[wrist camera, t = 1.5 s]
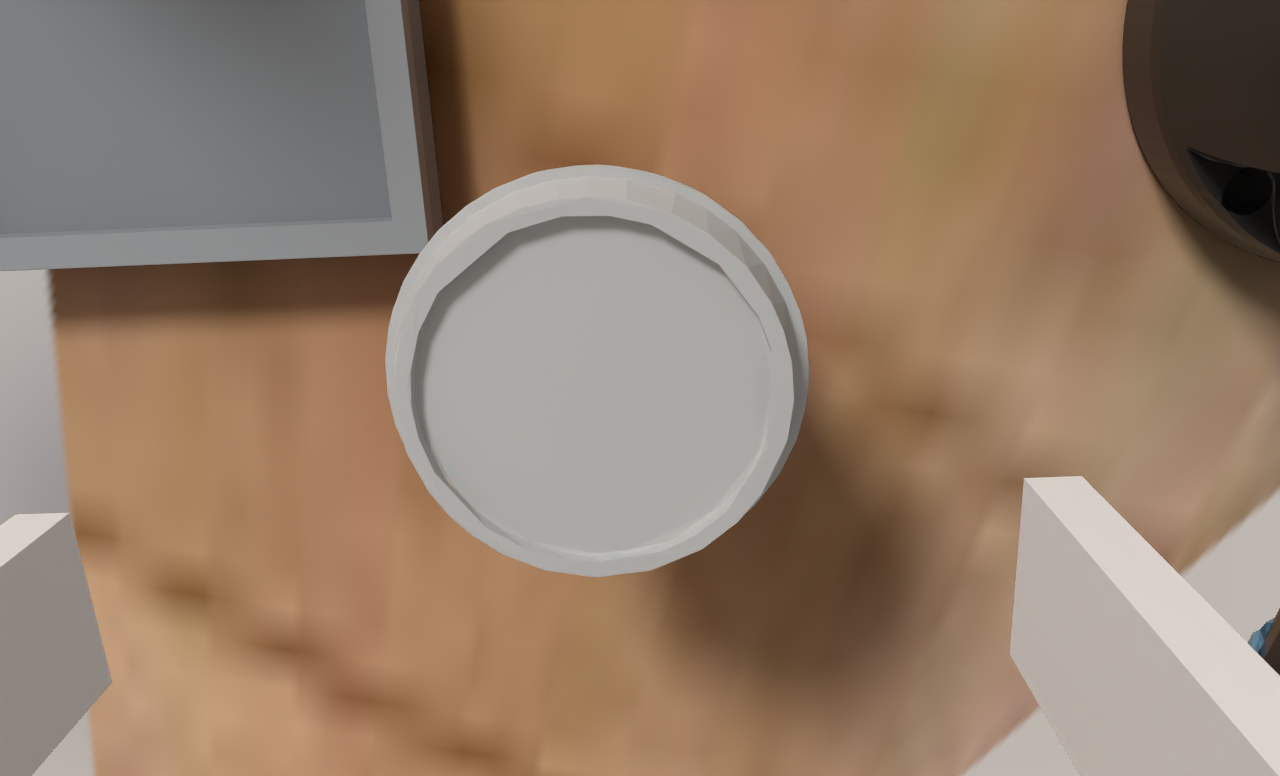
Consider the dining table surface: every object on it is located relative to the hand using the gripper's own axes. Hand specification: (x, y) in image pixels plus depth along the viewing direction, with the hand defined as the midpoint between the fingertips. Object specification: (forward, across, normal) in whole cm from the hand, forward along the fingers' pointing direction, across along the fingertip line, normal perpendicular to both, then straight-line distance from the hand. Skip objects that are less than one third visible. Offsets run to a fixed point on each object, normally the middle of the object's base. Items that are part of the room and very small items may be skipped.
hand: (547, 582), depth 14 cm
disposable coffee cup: (+20, 0, 0) cm, 20 cm away
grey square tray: (+20, +13, -9) cm, 25 cm away
